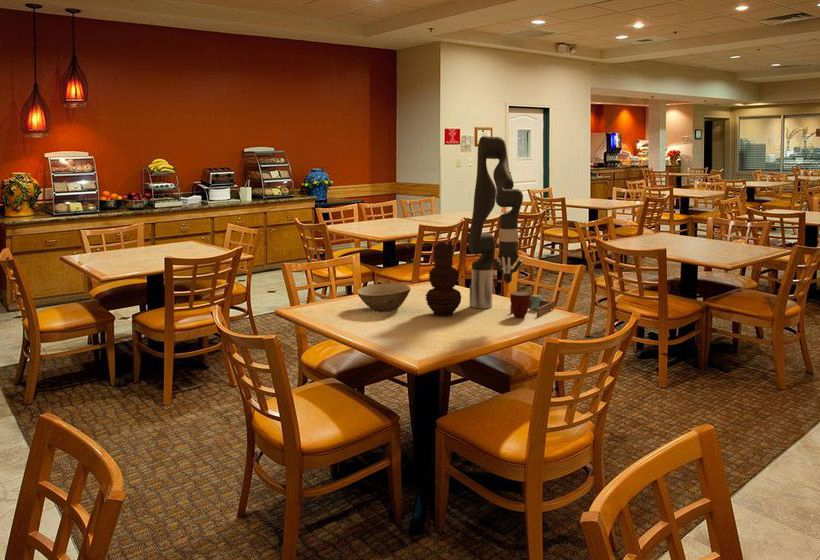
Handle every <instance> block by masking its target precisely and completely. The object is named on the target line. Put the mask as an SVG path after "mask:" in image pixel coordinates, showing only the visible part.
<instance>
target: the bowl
mask: <svg viewBox="0 0 820 560" xmlns="http://www.w3.org/2000/svg"><path fill="white" fill-rule="evenodd" d="M410 292H411V287H410V286H408V285H406V284H400V283H382V284H380V283H379V284H373V285H368V286H367V285H365V286H362V287H361V288H359V289H358V290H357V291H356V293H357V295H358V297H359V298H360V300H361V301H362V302H363V303H364V304H365V305H366V306H367V307H368V308H370V310H371V311H373V310H374V312H376V311H378V313H389V312H394V311H397V310H399V308H400V307H402V305H403V304H404V302H405V301H406V299H407V297H408V296H409V293H410Z"/></svg>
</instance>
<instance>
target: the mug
mask: <svg viewBox="0 0 820 560" xmlns="http://www.w3.org/2000/svg"><path fill="white" fill-rule="evenodd" d="M530 294H531V293H529V292H526V291H513V292H510V294H509V295H510V298H509V300H510V305H511V307H512V312H513V313H512V315H513V316H514V317H515V318H518V319H522V318H523V319H524V318H525V317H526V315H527V313H528V311H529V308H530V307H529V301H530V299H531V295H530Z"/></svg>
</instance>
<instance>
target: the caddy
mask: <svg viewBox="0 0 820 560" xmlns="http://www.w3.org/2000/svg"><path fill="white" fill-rule="evenodd" d="M509 308H510V311H509V312H510V313H509V314H513V312H512V307H511V304H510V307H509ZM528 308H531V298H530V301H529V307H528ZM551 309H554V310H555V301H552V300H546V299H545V300H544V299H543V306H542V307H540V308H537V310H536V318H540V317H541V315H542V316H543V314H544V315H545V313H546V314H547V312H548V313H549V311H550V310H551ZM550 312H551V311H550Z"/></svg>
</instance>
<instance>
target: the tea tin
mask: <svg viewBox="0 0 820 560" xmlns="http://www.w3.org/2000/svg"><path fill="white" fill-rule="evenodd" d="M530 299H531V307H530V310H534V311H537V308H540V307H542V305H543V300H544V295H542V294H541V295H540V294H533V295H530Z"/></svg>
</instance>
